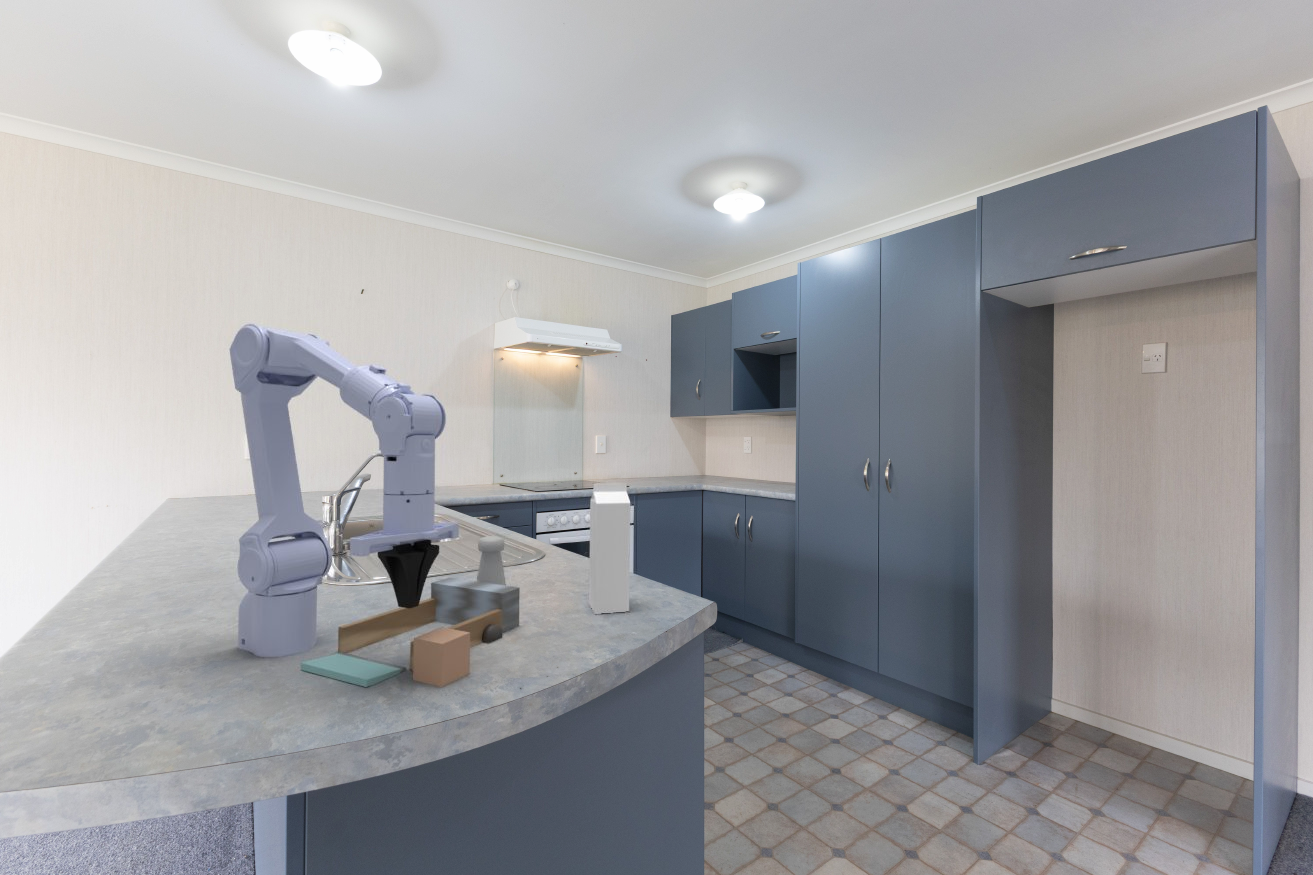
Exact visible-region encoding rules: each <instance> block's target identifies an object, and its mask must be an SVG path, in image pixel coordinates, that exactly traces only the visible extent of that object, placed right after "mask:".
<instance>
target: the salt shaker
mask: <svg viewBox="0 0 1313 875" xmlns="http://www.w3.org/2000/svg"><path fill="white" fill-rule="evenodd" d="M477 549H478V552H481V556H480V561H479V565H478V571H477V575H476V576H477V577H476V581H477V582H484V583H491V584H498V585H505V586H507V583H506V576H505V570H504V564H503V558H502V551H504V549H505V539H504V538H503V537H501V536H498V535H497V536H496V535H487V536H483V537H481V538H480V539H479V540H478V545H477Z"/></svg>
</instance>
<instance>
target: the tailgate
mask: <svg viewBox="0 0 1313 875" xmlns="http://www.w3.org/2000/svg"><path fill="white" fill-rule="evenodd" d="M300 670H301V671H304V672H308V673H312V674H315V675H320V676H323V677H327V678H330V679H334V680H338V681H342V682H345V683H350V684H352V685H357V686H360V687H365V688H367V687H371V686H373V685H376V684H379V683H381V682H383V681H385V680H387V679H388V680H389V679H390V678H392V677H394V676H395V677H396V676H397V675H399V674H402V673H404V672H406V671H407V668H406V667H404V666H401V665H397V664H391V663H390V662H389V663H388V662H385V661H380V660H376V659H371V658H366V657H363V656H360V655H359V656H358V655H355V654H350V653H342V652H339V653H338V652H337V653H335V654H331V655H327V656H323V657H319V658H315V659H310V660H307V661H303V662H300Z"/></svg>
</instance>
